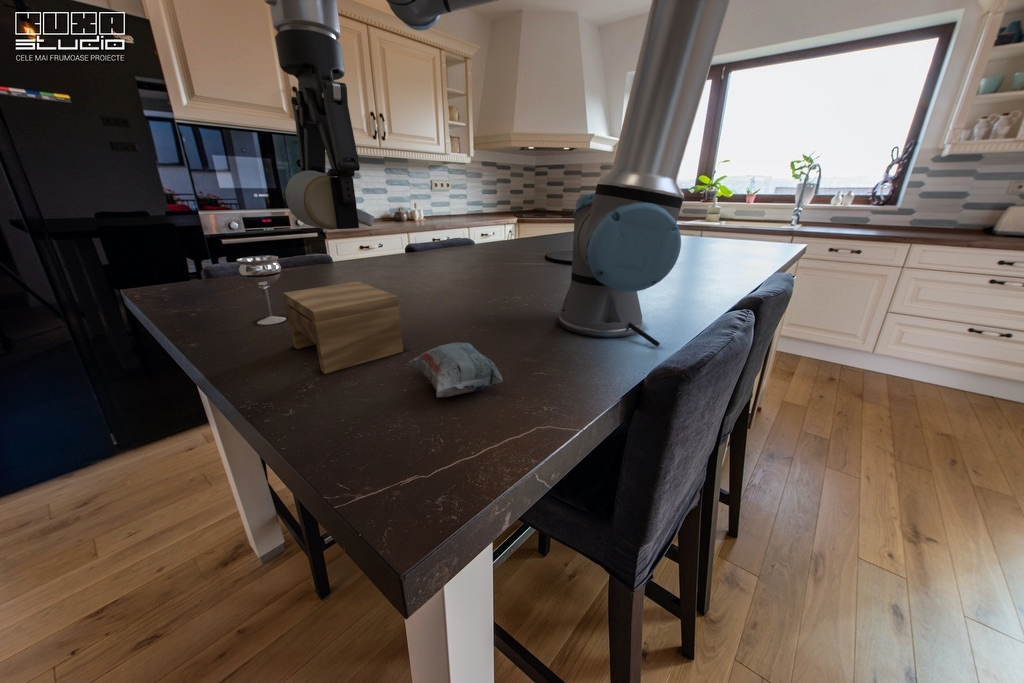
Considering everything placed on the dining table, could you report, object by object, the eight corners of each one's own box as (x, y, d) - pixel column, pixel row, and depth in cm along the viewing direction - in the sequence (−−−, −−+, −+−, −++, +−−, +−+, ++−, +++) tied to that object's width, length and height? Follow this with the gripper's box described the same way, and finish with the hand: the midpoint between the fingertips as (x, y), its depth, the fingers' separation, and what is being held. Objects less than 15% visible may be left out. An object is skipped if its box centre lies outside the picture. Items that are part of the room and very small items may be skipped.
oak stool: (403, 351, 62) (397, 296, 59) (324, 374, 55) (313, 311, 51) (365, 330, 72) (358, 281, 69) (294, 346, 64) (282, 292, 61)
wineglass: (268, 314, 81) (254, 255, 76) (298, 316, 80) (286, 256, 75) (242, 325, 74) (226, 261, 70) (275, 326, 73) (261, 262, 69)
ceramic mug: (308, 232, 51) (298, 167, 49) (289, 227, 57) (280, 169, 54) (385, 228, 58) (380, 172, 55) (361, 225, 64) (356, 173, 61)
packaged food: (437, 414, 45) (435, 374, 43) (409, 374, 54) (406, 340, 53) (505, 397, 49) (505, 360, 47) (467, 363, 58) (467, 331, 57)
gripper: (254, 50, 54) (287, 223, 62) (302, 0, 40) (337, 233, 48) (312, 62, 59) (336, 221, 67) (374, 21, 44) (394, 230, 52)
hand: (336, 226), depth 57 cm, fingers closed on ceramic mug, 8 cm apart
